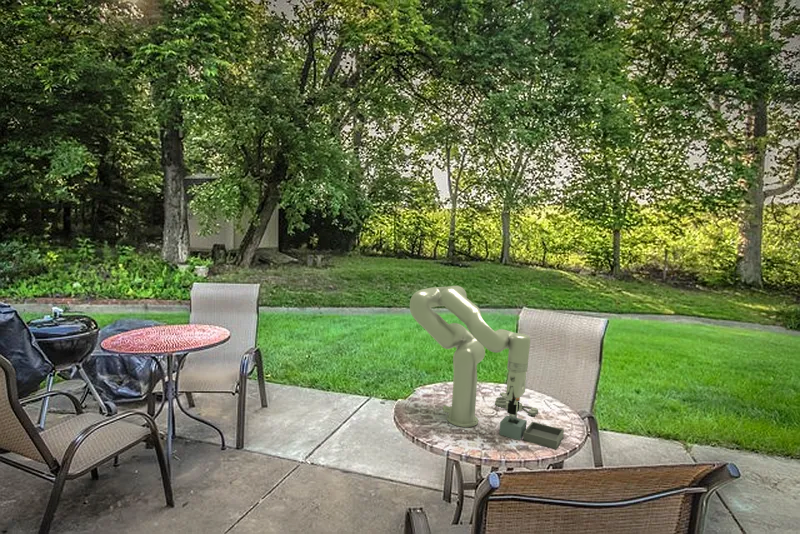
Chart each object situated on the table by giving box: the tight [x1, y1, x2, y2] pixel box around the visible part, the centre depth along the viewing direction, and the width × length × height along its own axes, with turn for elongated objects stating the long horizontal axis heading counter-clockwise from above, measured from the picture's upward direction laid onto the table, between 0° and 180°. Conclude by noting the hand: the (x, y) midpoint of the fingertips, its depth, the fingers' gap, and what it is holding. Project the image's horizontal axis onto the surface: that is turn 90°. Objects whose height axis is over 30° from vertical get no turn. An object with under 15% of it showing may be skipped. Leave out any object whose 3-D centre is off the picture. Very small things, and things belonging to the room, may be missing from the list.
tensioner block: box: [498, 415, 528, 441], centre depth 179 cm, size 8×8×5 cm
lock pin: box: [508, 395, 521, 424], centre depth 179 cm, size 4×4×12 cm
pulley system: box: [494, 391, 539, 417], centre depth 209 cm, size 27×5×15 cm
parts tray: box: [522, 421, 565, 450], centre depth 176 cm, size 12×12×3 cm
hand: (512, 411), depth 179 cm, fingers closed on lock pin, 3 cm apart
